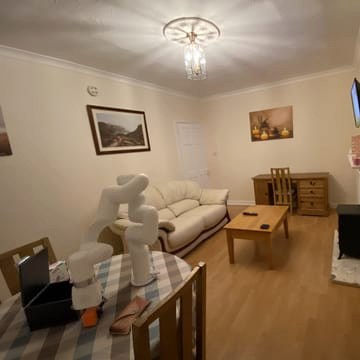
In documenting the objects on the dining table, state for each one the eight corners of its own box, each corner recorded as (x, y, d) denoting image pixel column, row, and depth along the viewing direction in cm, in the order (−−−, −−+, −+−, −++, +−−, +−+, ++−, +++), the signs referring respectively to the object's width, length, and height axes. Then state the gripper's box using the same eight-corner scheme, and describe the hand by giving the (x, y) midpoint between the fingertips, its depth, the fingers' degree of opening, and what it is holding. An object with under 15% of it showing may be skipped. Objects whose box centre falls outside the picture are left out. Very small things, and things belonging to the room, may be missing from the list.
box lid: (47, 246, 98) (32, 247, 96) (20, 265, 82) (2, 266, 80) (50, 282, 100) (35, 283, 99) (24, 307, 84) (6, 309, 83)
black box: (94, 294, 106) (90, 275, 104) (78, 320, 90) (73, 298, 89) (54, 302, 102) (49, 283, 100) (29, 331, 86) (23, 308, 84)
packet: (103, 310, 95) (100, 300, 94) (95, 324, 87) (93, 314, 86) (92, 312, 94) (89, 302, 93) (83, 327, 86) (81, 317, 85)
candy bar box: (65, 287, 113) (59, 260, 110) (72, 288, 112) (66, 260, 109) (42, 303, 103) (34, 273, 100) (50, 304, 101) (43, 273, 99)
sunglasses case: (128, 334, 82) (118, 321, 81) (116, 341, 83) (105, 328, 83) (152, 300, 99) (144, 289, 99) (141, 306, 101) (133, 295, 100)
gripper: (56, 291, 82) (66, 330, 85) (104, 281, 85) (112, 319, 89) (66, 279, 89) (75, 315, 92) (110, 270, 93) (117, 306, 96)
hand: (93, 317), depth 91 cm, fingers closed on packet, 4 cm apart
